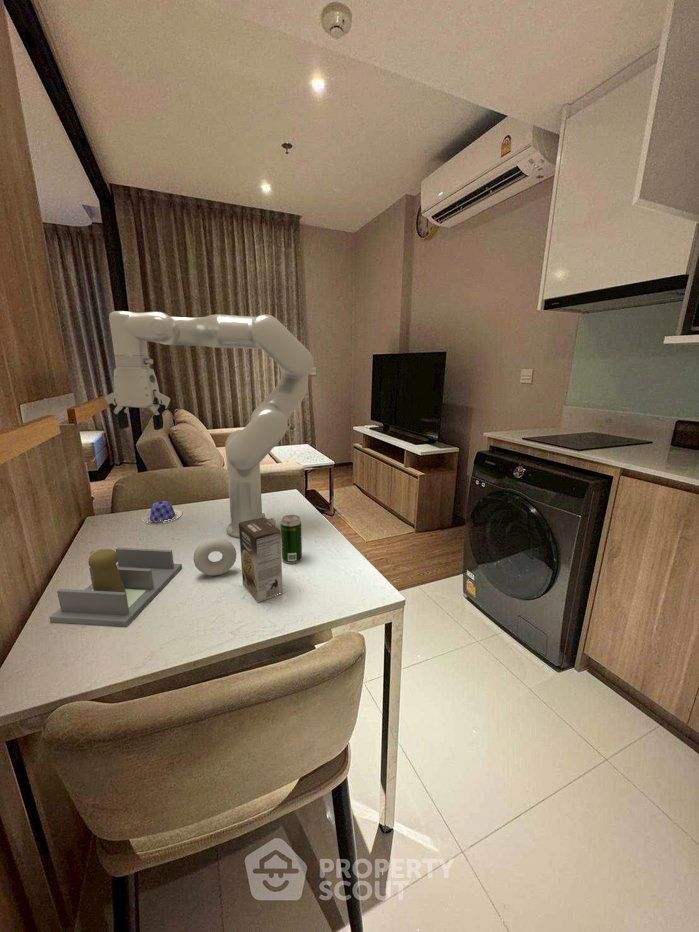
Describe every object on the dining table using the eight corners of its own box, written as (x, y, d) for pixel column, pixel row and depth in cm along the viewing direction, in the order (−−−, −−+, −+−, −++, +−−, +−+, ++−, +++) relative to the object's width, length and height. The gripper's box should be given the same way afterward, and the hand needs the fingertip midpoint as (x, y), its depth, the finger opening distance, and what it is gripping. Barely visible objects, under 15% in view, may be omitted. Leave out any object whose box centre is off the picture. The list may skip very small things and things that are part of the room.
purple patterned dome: (152, 511, 131) (150, 497, 130) (187, 511, 132) (185, 497, 130) (136, 525, 119) (133, 510, 118) (174, 525, 120) (172, 510, 119)
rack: (182, 568, 95) (179, 546, 93) (126, 626, 74) (122, 600, 72) (122, 565, 96) (118, 543, 94) (50, 622, 75) (44, 596, 73)
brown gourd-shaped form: (110, 608, 77) (102, 561, 74) (86, 604, 78) (77, 557, 75) (132, 591, 83) (125, 547, 80) (110, 587, 84) (102, 543, 81)
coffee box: (241, 584, 88) (237, 522, 84) (266, 575, 92) (263, 515, 88) (257, 604, 82) (253, 537, 77) (283, 593, 85) (281, 529, 81)
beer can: (304, 562, 99) (303, 521, 95) (283, 566, 97) (282, 523, 94) (299, 553, 103) (298, 513, 100) (280, 556, 102) (278, 515, 98)
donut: (195, 581, 89) (190, 544, 87) (195, 574, 92) (191, 537, 90) (238, 574, 92) (235, 538, 90) (237, 567, 96) (234, 532, 93)
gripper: (172, 363, 99) (179, 427, 104) (110, 362, 100) (120, 425, 105) (156, 363, 92) (164, 432, 96) (89, 362, 93) (101, 430, 97)
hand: (141, 428), depth 100 cm, fingers open, 9 cm apart
